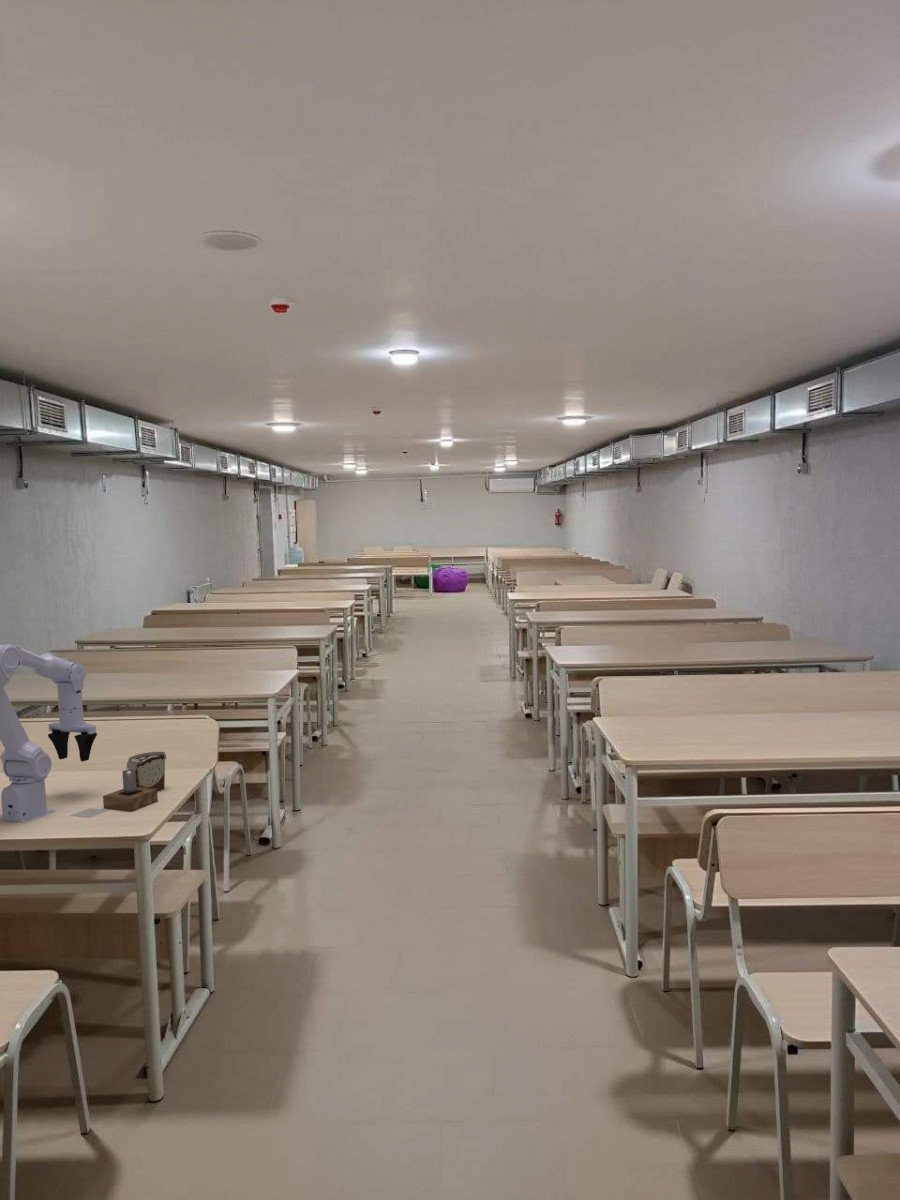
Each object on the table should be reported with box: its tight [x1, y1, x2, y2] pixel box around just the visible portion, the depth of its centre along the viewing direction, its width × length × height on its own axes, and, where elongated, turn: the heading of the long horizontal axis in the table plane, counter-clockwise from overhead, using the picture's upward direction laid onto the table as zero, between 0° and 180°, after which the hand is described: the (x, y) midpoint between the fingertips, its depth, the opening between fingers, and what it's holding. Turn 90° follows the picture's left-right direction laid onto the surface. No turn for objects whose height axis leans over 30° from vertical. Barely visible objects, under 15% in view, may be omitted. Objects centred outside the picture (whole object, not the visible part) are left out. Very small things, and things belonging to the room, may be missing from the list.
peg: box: [121, 769, 137, 796], centre depth 221 cm, size 3×3×9 cm
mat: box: [70, 807, 109, 819], centre depth 215 cm, size 6×6×1 cm
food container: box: [125, 751, 167, 793], centre depth 232 cm, size 12×6×10 cm, turn 160°
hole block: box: [102, 787, 159, 813], centre depth 221 cm, size 9×9×4 cm
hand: (74, 759), depth 230 cm, fingers open, 7 cm apart
